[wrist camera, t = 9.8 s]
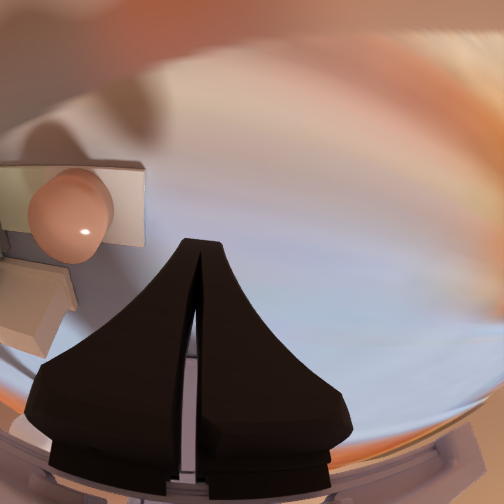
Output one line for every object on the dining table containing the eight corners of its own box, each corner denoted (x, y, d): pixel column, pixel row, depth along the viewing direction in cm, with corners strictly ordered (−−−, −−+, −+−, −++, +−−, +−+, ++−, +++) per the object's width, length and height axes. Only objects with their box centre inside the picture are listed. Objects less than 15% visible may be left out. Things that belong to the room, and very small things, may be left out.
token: (102, 252, 13) (90, 276, 12) (42, 222, 12) (24, 243, 10) (125, 188, 11) (110, 206, 10) (56, 156, 10) (34, 170, 8)
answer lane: (144, 244, 14) (143, 247, 13) (4, 227, 12) (2, 230, 12) (145, 169, 11) (143, 171, 11) (-7, 166, 10) (-10, 169, 9)
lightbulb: (17, 368, 21) (-6, 445, 12) (53, 376, 22) (31, 464, 13) (44, 395, 25) (28, 464, 16) (79, 403, 25) (65, 479, 16)
